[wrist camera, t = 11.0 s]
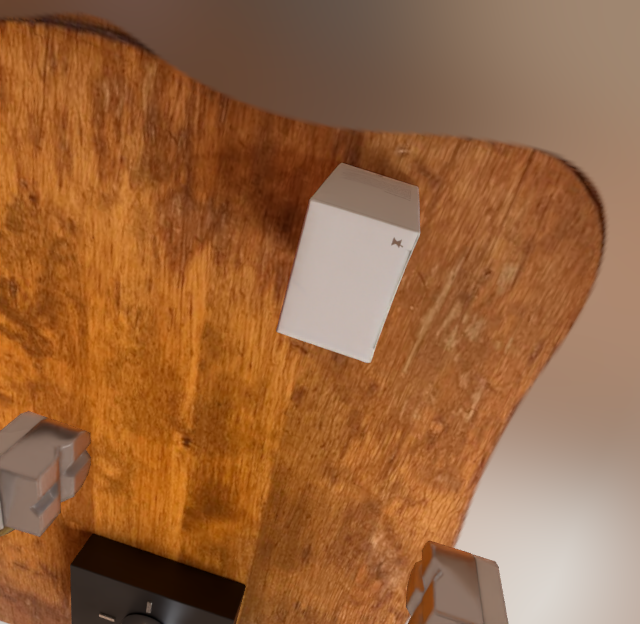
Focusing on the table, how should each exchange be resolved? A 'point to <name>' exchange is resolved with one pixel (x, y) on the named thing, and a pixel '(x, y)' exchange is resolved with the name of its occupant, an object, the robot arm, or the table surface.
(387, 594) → the table surface
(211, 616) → the panel
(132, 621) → the dial
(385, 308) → the small box
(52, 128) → the table surface
